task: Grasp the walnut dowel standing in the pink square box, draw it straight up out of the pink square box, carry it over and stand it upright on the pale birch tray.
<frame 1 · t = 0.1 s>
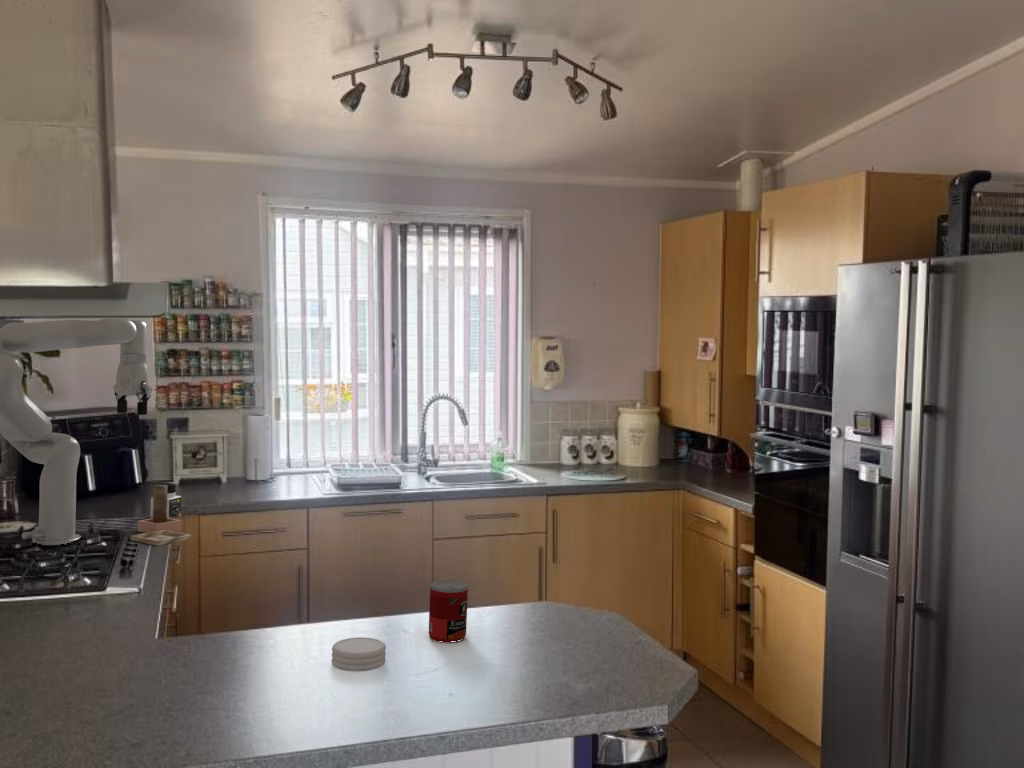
hand: (131, 413, 277), 37 cm above the worktop, tool pointing down, fingers open, 9 cm apart
coaster: (358, 664, 165), on the worktop
medicine bottle: (165, 518, 300), on the worktop
tray: (161, 542, 262), on the worktop
canned food: (447, 638, 182), on the worktop
pink square box: (159, 533, 274), on the worktop
dowel: (159, 530, 274), point 1 cm above the worktop, touching pink square box
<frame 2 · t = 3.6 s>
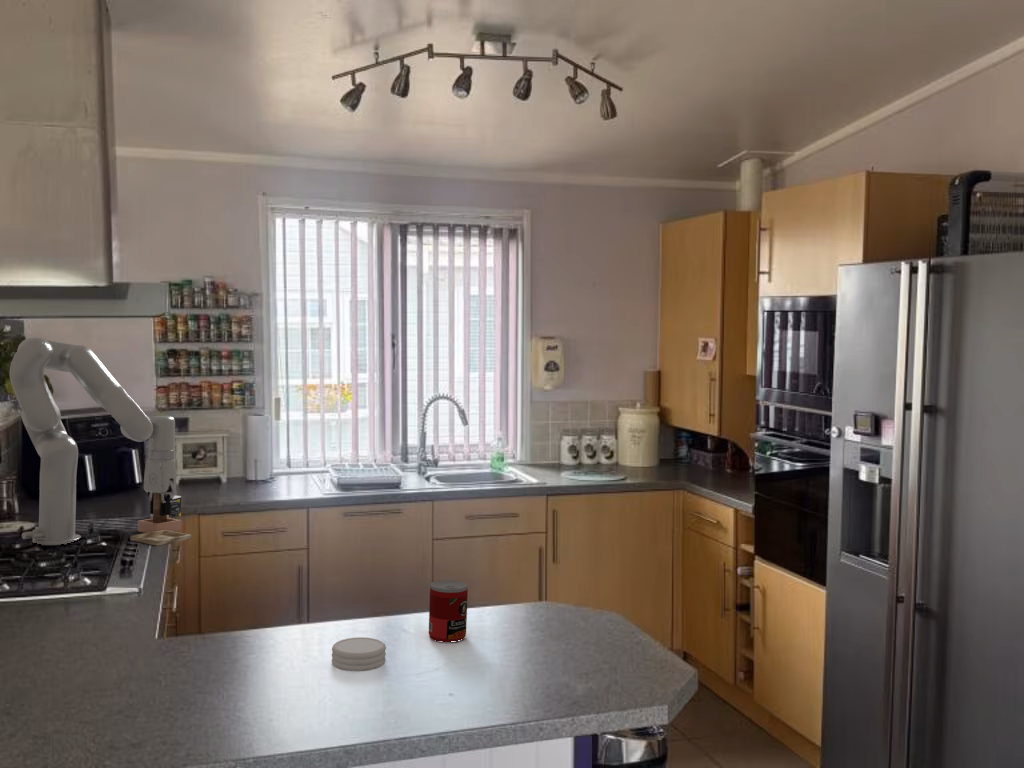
hand: (160, 513, 274), 6 cm above the worktop, tool pointing down, fingers closed on dowel, 4 cm apart
dowel: (159, 530, 274), point 1 cm above the worktop, touching pink square box, gripper
everything else where it was.
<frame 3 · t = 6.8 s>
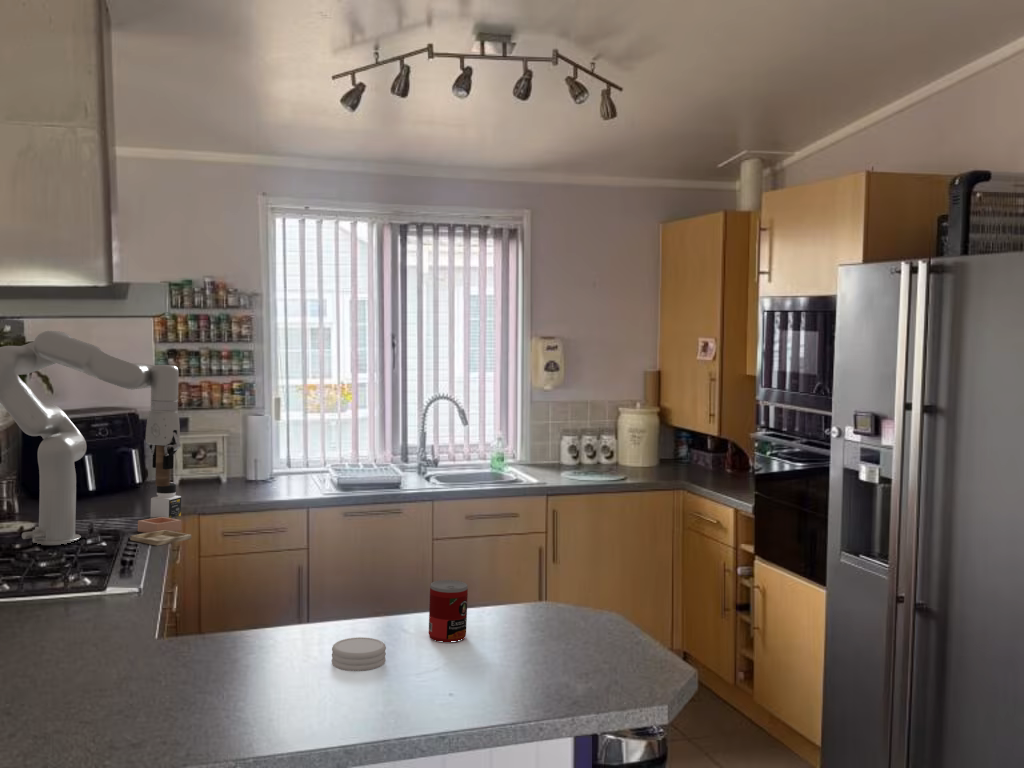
hand: (162, 467, 261), 22 cm above the worktop, tool pointing down, fingers closed on dowel, 4 cm apart
dowel: (162, 485, 261), point 17 cm above the worktop, touching gripper
everything else where it was.
when the fingers open (8 cm above the worktop, at t = 10.2 s): dowel drops 2 cm, resting on tray.
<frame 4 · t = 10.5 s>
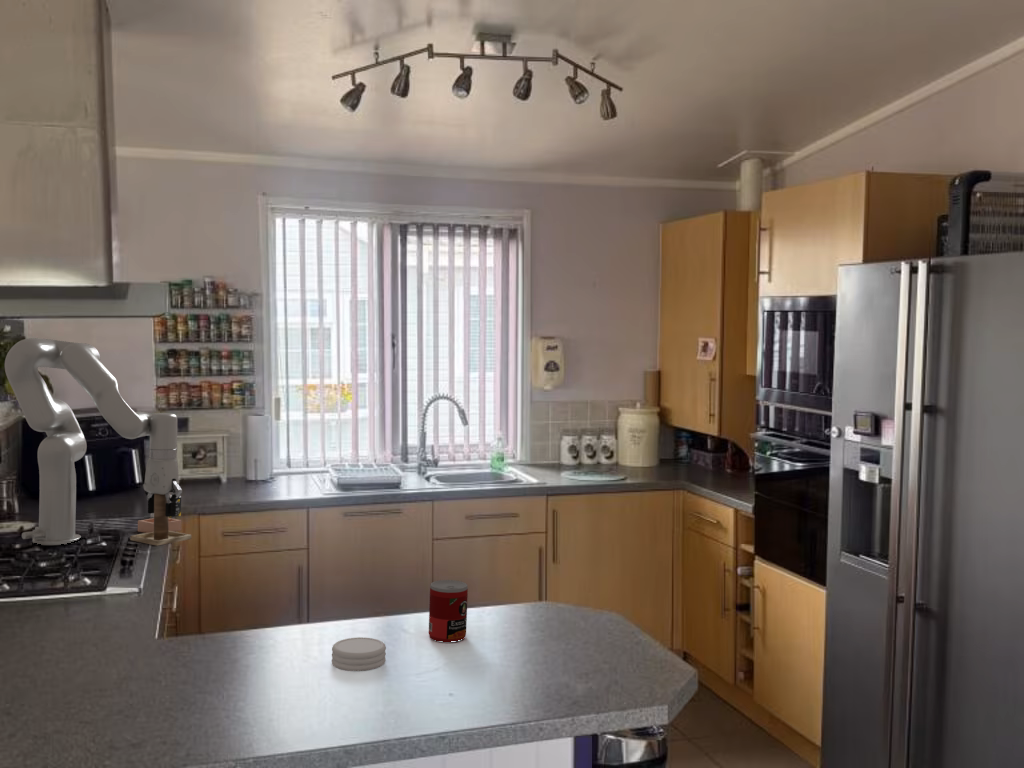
hand: (161, 513, 261), 8 cm above the worktop, tool pointing down, fingers open, 7 cm apart
dowel: (161, 539, 262), point 1 cm above the worktop, touching tray
everything else where it was.
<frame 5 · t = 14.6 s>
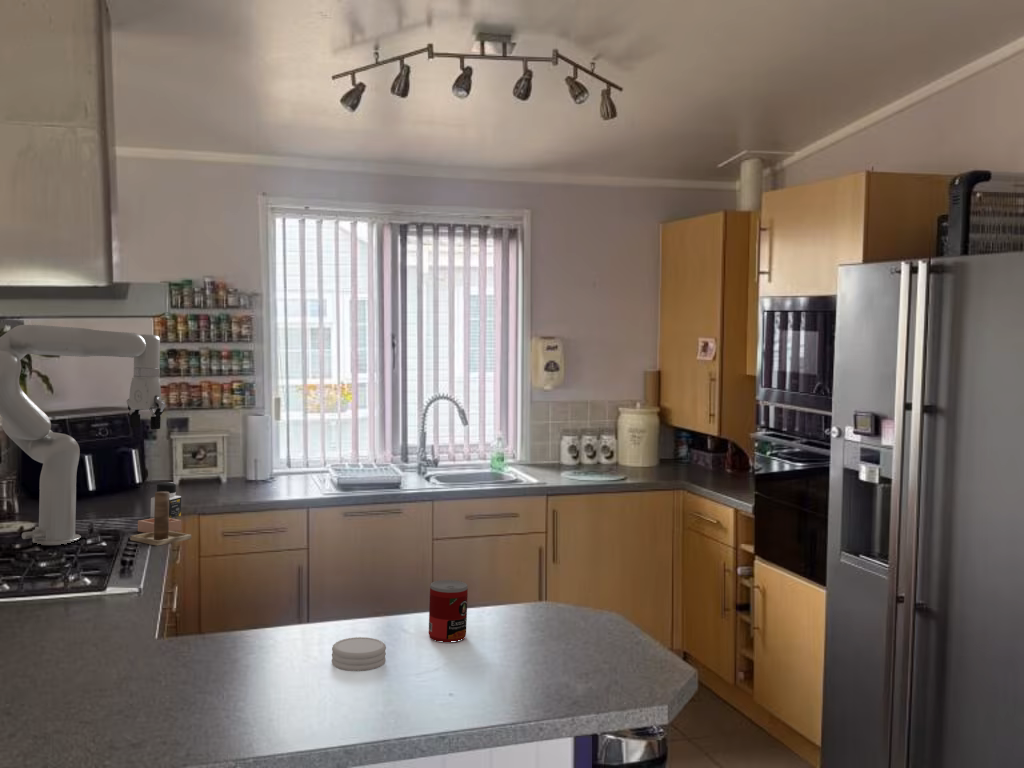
hand: (145, 428, 277), 32 cm above the worktop, tool pointing down, fingers open, 9 cm apart
nothing on the worktop moved.
at the end: dowel inside the target area on the tray (0.0 cm from its centre), point 0.8 cm above the tray's base; dowel tilted 0°; the gripper is holding nothing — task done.
